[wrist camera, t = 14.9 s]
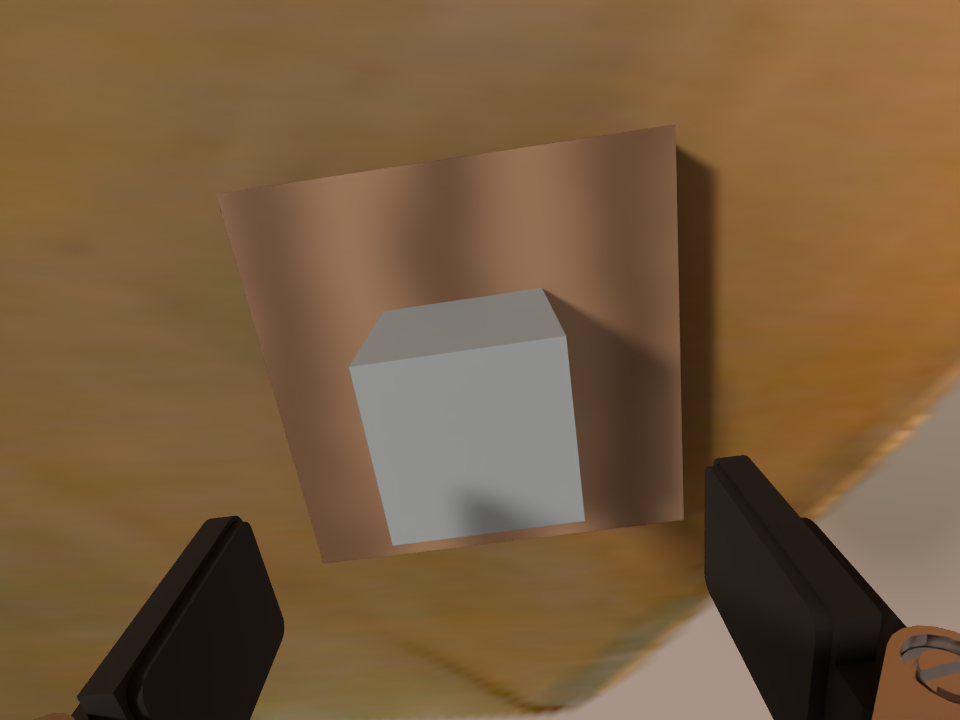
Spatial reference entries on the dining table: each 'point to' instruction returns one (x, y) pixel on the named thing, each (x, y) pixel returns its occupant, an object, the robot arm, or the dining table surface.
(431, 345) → the light grey cube
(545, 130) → the dining table surface
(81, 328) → the dining table surface
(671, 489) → the walnut base
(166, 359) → the dining table surface
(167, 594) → the robot arm
